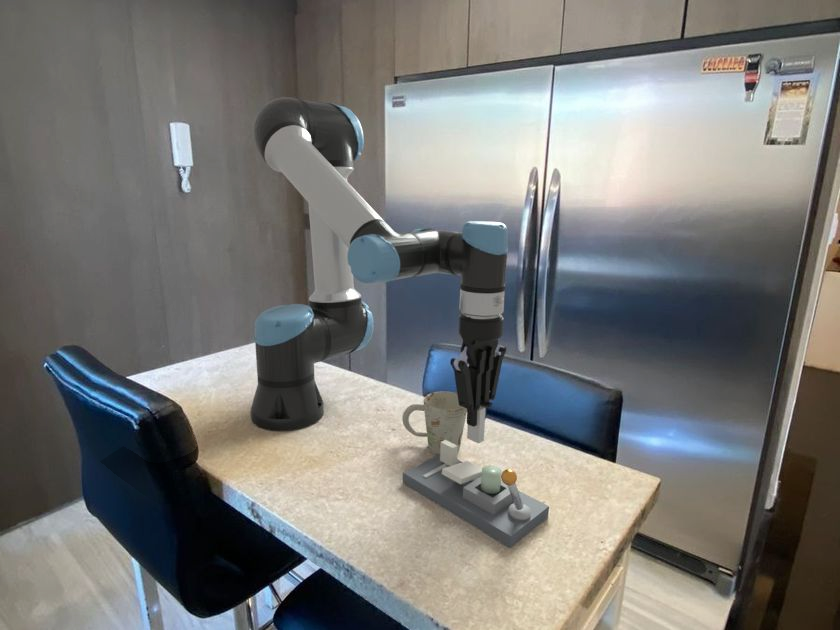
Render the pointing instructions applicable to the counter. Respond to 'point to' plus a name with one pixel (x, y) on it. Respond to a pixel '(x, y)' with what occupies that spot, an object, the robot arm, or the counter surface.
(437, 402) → the mug
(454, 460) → the slider
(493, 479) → the button
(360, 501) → the counter surface
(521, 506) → the lever
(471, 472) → the plate
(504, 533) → the panel
